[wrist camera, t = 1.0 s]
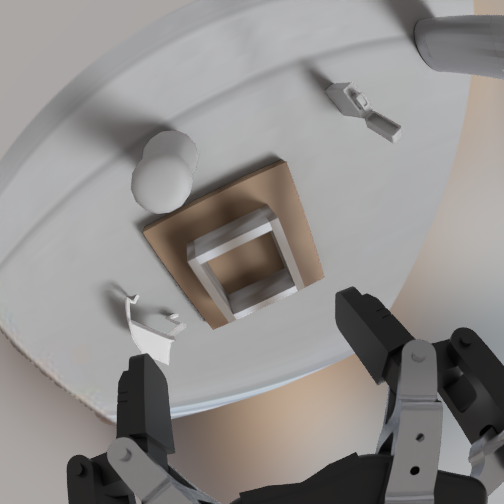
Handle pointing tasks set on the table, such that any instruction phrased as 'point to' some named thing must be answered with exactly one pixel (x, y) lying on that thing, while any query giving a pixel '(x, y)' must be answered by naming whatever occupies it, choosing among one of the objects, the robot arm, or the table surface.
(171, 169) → the salt shaker
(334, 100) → the lighter
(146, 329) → the white bent open piece
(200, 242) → the wooden base with frame
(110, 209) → the table surface
